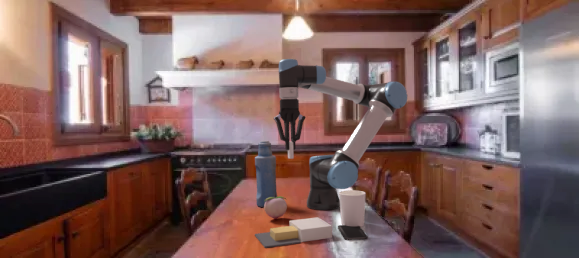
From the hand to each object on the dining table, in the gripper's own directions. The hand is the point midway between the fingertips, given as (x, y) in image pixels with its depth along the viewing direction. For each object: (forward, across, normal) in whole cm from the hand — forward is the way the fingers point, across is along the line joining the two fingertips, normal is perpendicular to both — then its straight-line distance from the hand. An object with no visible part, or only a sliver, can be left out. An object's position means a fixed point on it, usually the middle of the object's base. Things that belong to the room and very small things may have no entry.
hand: (290, 158), depth 153 cm
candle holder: (+25, +18, -17) cm, 35 cm away
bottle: (+25, -3, +28) cm, 37 cm away
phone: (+25, +13, -26) cm, 38 cm away
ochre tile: (+24, -10, -22) cm, 34 cm away
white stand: (+24, -1, -22) cm, 33 cm away
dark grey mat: (+24, -13, -22) cm, 35 cm away
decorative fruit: (+25, -6, +2) cm, 25 cm away
